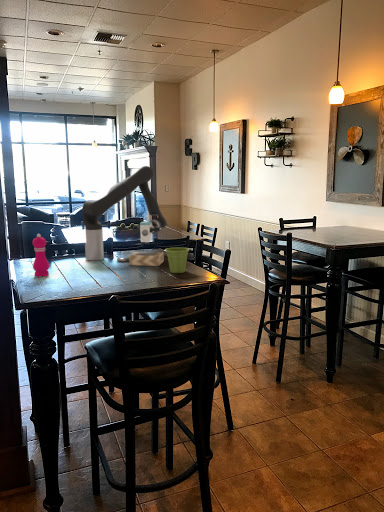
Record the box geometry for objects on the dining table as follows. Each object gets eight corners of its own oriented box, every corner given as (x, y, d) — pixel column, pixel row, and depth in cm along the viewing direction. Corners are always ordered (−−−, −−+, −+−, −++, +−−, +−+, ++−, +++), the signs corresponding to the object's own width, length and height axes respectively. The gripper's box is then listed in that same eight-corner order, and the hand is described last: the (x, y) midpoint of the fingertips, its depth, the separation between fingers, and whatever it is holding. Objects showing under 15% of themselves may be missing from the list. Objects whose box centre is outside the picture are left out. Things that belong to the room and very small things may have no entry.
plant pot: (192, 269, 206) (191, 247, 204) (186, 275, 195) (186, 251, 193) (169, 268, 209) (168, 246, 207) (162, 274, 198) (161, 250, 196)
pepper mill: (45, 273, 201) (42, 232, 198) (52, 275, 196) (49, 233, 193) (31, 275, 196) (27, 233, 193) (37, 278, 191) (34, 235, 188)
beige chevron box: (129, 265, 219) (129, 255, 218) (135, 260, 231) (135, 250, 230) (159, 265, 217) (158, 255, 216) (163, 260, 229) (163, 251, 228)
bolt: (117, 262, 226) (117, 257, 225) (117, 261, 229) (117, 256, 228) (131, 261, 227) (131, 256, 227) (131, 260, 230) (131, 255, 230)
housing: (140, 242, 219) (139, 223, 217) (143, 240, 226) (142, 221, 224) (149, 242, 219) (149, 223, 217) (152, 240, 225) (151, 221, 223)
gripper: (139, 220, 236) (131, 223, 219) (164, 220, 234) (158, 223, 217) (139, 233, 237) (132, 237, 220) (164, 233, 235) (158, 237, 219)
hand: (145, 230), depth 219 cm, fingers closed on housing, 5 cm apart
